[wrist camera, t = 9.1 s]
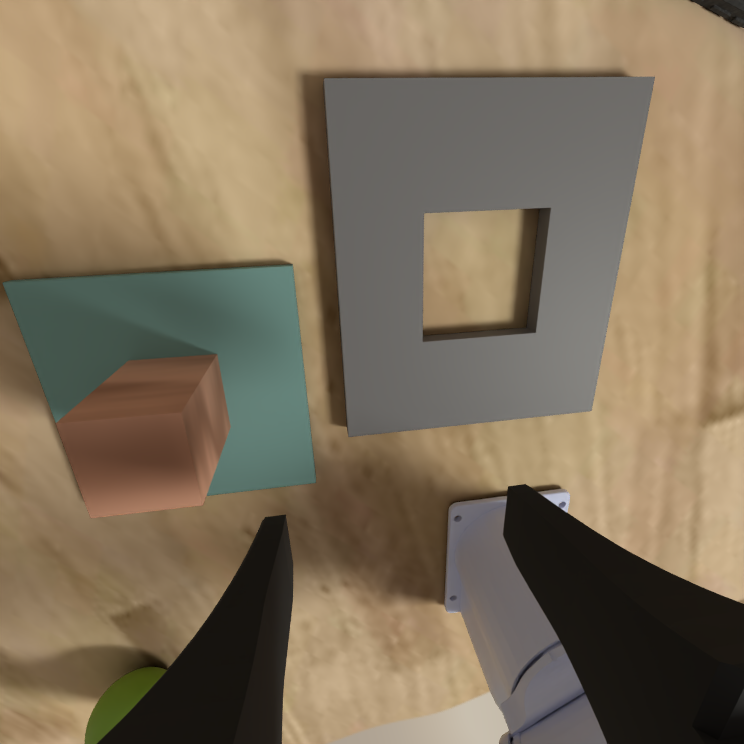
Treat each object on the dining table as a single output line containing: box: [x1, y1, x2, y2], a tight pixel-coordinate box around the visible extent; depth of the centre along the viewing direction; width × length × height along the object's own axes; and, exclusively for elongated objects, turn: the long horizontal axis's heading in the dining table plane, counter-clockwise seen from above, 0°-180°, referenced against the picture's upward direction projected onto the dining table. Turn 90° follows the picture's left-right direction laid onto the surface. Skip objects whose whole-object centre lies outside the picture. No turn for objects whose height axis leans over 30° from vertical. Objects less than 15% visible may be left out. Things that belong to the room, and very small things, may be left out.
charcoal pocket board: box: [323, 77, 655, 437], centre depth 20 cm, size 16×14×1 cm
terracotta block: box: [55, 354, 231, 518], centre depth 17 cm, size 4×4×6 cm
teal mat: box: [3, 264, 316, 496], centre depth 20 cm, size 12×12×1 cm
